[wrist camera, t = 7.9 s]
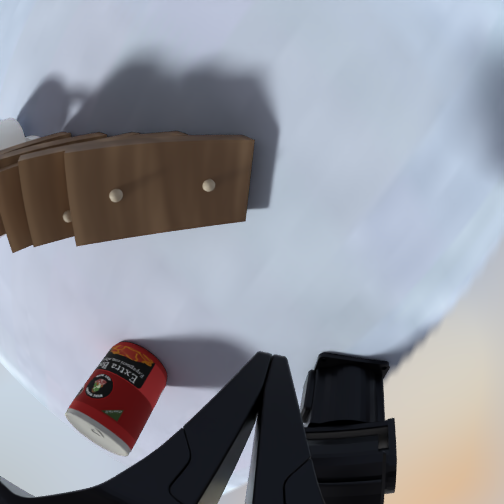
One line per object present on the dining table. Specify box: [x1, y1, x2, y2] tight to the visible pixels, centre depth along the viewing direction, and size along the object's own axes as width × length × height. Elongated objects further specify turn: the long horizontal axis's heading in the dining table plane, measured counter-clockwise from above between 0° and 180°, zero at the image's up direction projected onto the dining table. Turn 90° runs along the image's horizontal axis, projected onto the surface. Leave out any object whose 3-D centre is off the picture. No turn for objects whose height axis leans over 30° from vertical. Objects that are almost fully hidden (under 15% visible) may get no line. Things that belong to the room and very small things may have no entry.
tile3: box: [0, 132, 140, 253], centre depth 16 cm, size 2×5×10 cm
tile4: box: [0, 132, 107, 236], centre depth 16 cm, size 2×5×10 cm, turn 171°
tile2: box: [18, 131, 187, 247], centre depth 15 cm, size 2×5×10 cm
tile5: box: [0, 132, 71, 155], centre depth 16 cm, size 2×5×10 cm, turn 171°
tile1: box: [64, 135, 255, 246], centre depth 15 cm, size 2×5×10 cm
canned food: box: [65, 342, 167, 456], centre depth 27 cm, size 8×8×11 cm
